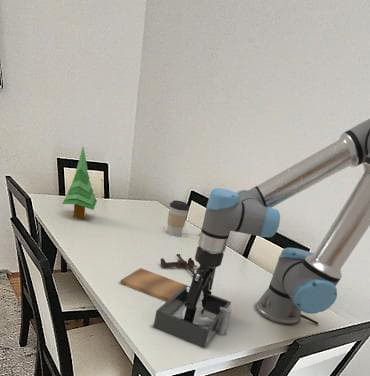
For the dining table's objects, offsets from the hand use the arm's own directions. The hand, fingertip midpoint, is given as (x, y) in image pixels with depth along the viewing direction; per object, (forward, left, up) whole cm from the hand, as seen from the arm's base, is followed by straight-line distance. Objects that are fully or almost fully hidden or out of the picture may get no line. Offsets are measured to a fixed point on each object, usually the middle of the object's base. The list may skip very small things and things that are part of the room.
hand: (193, 318), depth 116 cm
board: (+19, -13, -1) cm, 23 cm away
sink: (-1, 0, -1) cm, 2 cm away
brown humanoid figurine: (+20, -35, -1) cm, 40 cm away
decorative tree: (+77, -50, -1) cm, 92 cm away
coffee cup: (+38, -71, -1) cm, 80 cm away
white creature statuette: (0, 0, -1) cm, 1 cm away
